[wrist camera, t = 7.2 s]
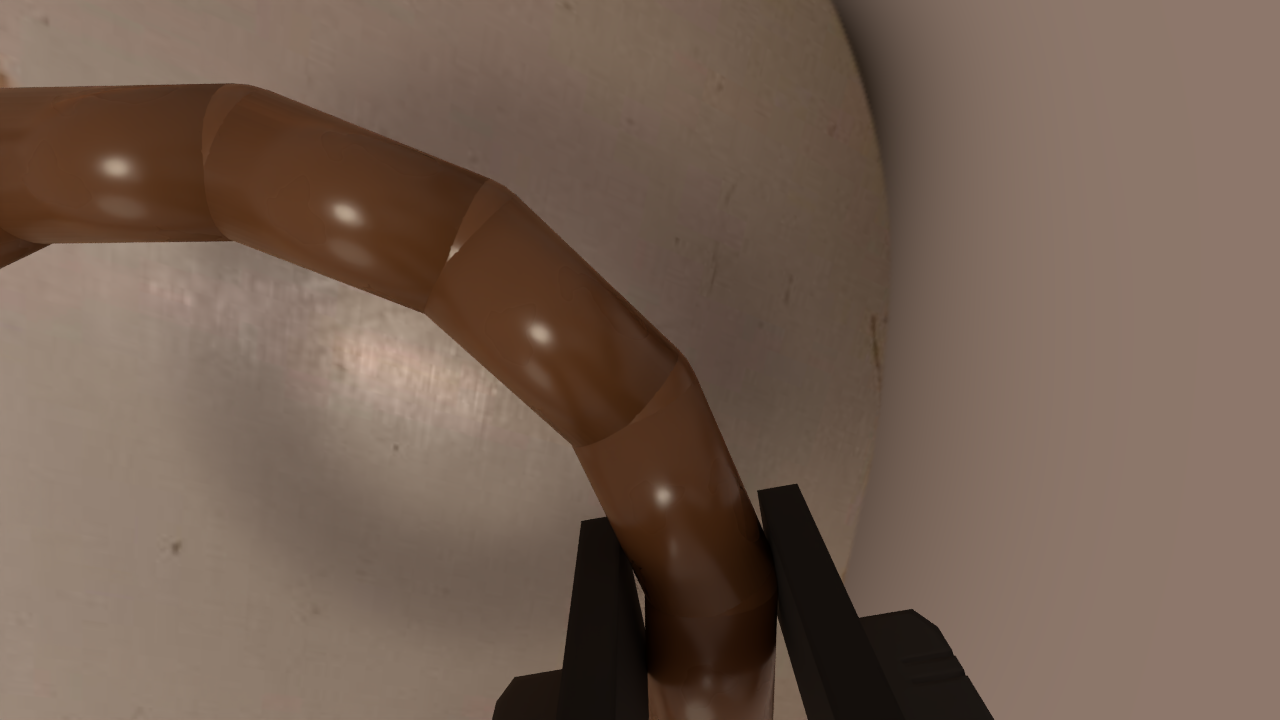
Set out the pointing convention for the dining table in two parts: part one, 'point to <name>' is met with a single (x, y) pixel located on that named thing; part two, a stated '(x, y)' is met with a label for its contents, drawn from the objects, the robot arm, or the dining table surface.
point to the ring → (454, 300)
